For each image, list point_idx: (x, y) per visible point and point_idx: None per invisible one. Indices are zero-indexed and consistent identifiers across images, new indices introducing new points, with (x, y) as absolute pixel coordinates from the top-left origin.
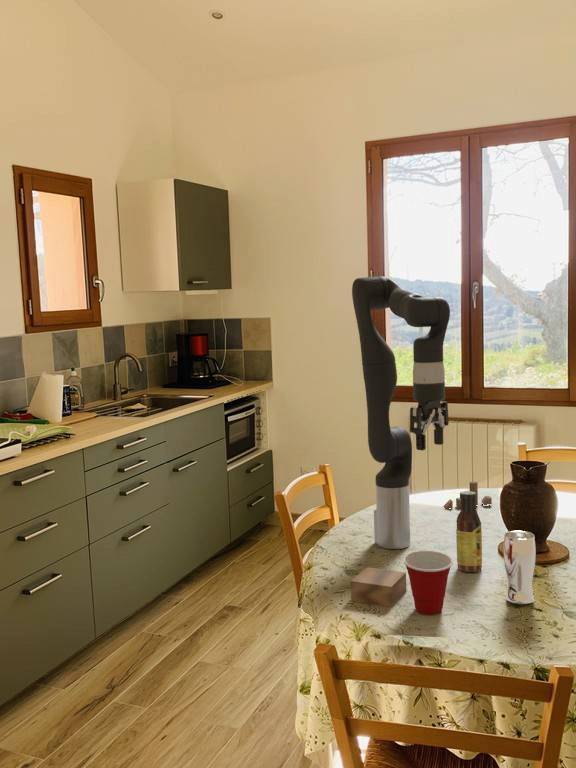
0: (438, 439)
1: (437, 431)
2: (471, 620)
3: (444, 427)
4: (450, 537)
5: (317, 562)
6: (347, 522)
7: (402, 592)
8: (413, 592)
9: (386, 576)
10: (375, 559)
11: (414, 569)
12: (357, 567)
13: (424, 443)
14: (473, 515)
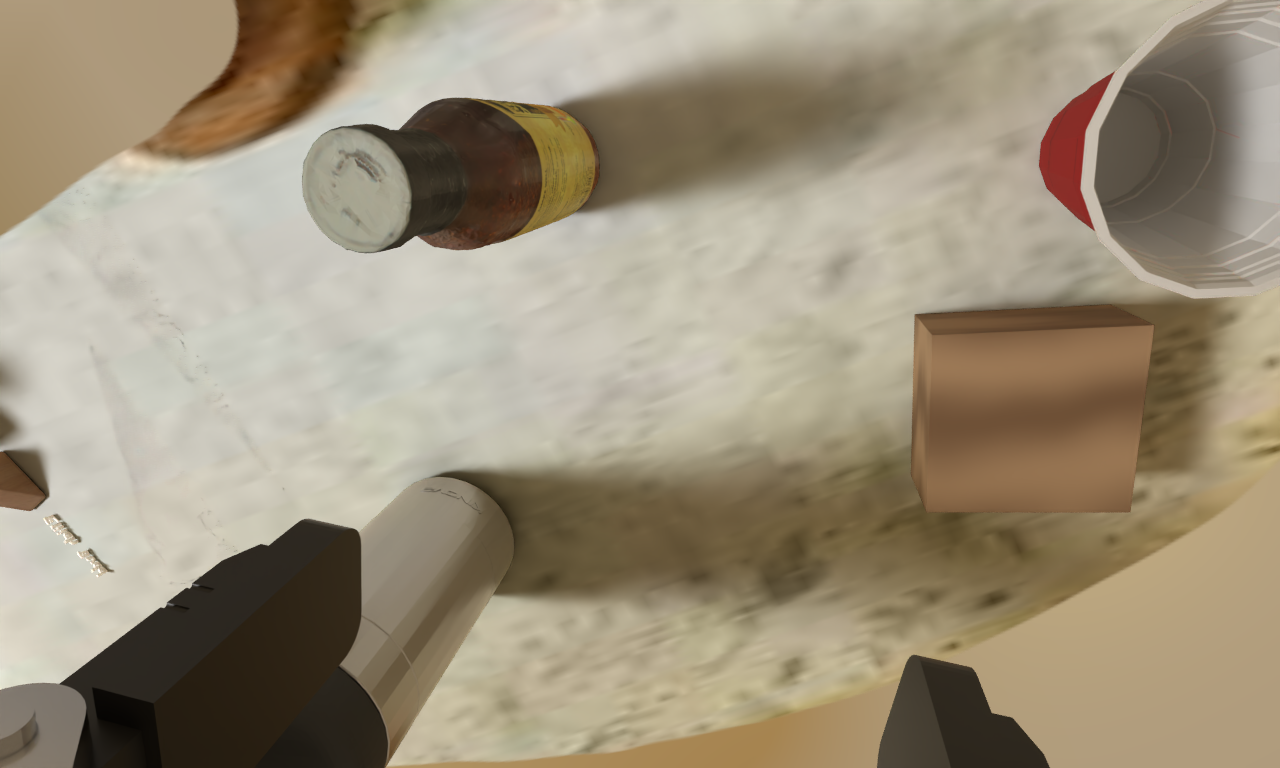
0: (309, 627)
1: (196, 761)
2: None
3: (13, 703)
4: (237, 372)
5: (742, 710)
6: None
7: (972, 314)
8: (1202, 204)
9: (1019, 394)
10: (617, 544)
11: None
12: (730, 573)
13: (994, 751)
14: (460, 133)
